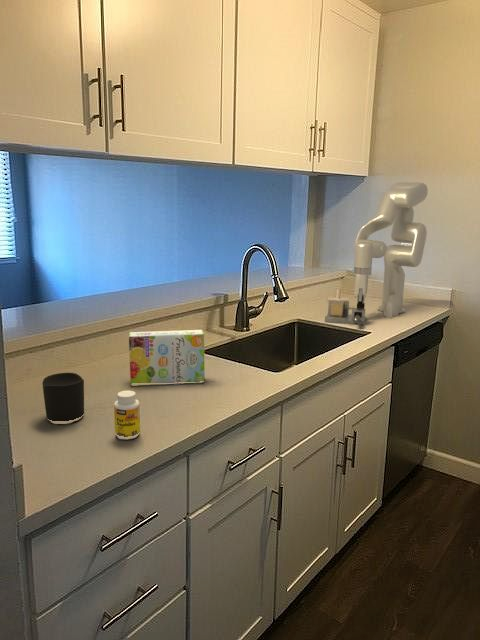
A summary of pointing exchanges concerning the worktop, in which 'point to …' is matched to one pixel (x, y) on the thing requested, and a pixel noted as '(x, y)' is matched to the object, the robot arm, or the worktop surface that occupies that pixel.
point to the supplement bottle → (127, 414)
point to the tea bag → (391, 306)
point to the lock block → (337, 308)
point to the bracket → (345, 315)
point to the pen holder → (63, 396)
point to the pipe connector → (338, 297)
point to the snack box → (166, 356)
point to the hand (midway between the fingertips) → (360, 312)
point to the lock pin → (357, 317)
